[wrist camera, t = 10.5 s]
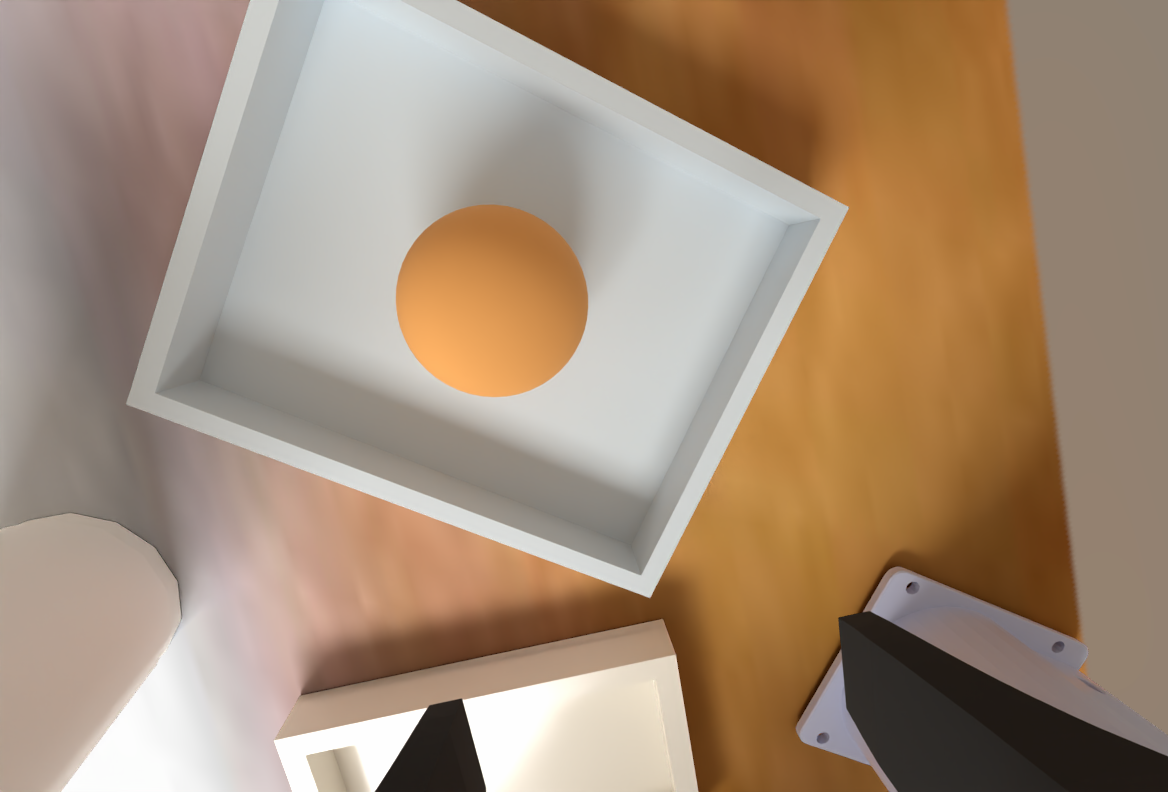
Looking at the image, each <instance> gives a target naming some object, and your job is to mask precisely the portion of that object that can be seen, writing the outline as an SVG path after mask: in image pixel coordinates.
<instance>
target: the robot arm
mask: <svg viewBox="0 0 1168 792" xmlns="http://www.w3.org/2000/svg"><path fill="white" fill-rule="evenodd" d="M911 582H912V585H911V586H910V587H909V588H906V587H907V585H908V584H909V583H911ZM838 619H839V630H840V642H841V650H840V652H839V653H838V655H837V657H836V659H835V660H834V662H833V664H832V665H831V667H830V669H829V670H828V672H827V674H826V676H825V677H824V679H823V681H822V682H821V684H820V686H819V688H818V689H817V691H816V693H815V694H814V696H813V698H812V699H811V701H810V703H809V705H808V706H807V708H806V710H805V711H804V713H803V715H802V717H801V718H800V720H799V722H798V723H797V726H796V732H797V734H798V736H799V738H800V739H801V741H802V742H804V743H805V744H808V745H811V746H814V747H817V748H820V749H823V750H826V751H829V752H832V753H835V754H838V755H841V756H844V757H847V758H850V759H852V760H855V761H858V762H861V763H864V764H867V765H870V766H872V767H873V769H874V770H875V772H876V773H877V775H878V776H879V778H880V779H881V781H882V782H883V784H884V785H885V787H886V788H887V789H888V791H889V792H1168V735H1167V734H1165V733H1164V732H1162V731H1161V730H1160V729H1158V728H1157V727H1156V726H1154V725H1153V724H1152V723H1150V722H1149V721H1147V720H1146V719H1145V718H1143V717H1142V716H1141V715H1139V714H1138V713H1136V712H1135V711H1133V710H1132V709H1131V708H1130V707H1128V706H1127V705H1125V704H1124V703H1123V702H1121V701H1120V700H1119V699H1117V698H1116V697H1114V696H1113V695H1112V694H1110V693H1109V692H1107V691H1106V690H1105V689H1103V688H1102V687H1101V686H1099V685H1098V684H1097V683H1095V682H1094V681H1092V680H1091V679H1090V678H1088V677H1087V676H1086V675H1084V674H1083V673H1081V672H1080V671H1079V669H1080V668H1081V666H1082V665H1083V663H1084V662H1085V660H1086V659H1087V656H1088V648H1087V646H1086V645H1084V644H1083V643H1081V642H1080V641H1079V640H1077V639H1075V638H1073V637H1070V636H1068V635H1065V634H1063V633H1061V632H1058V631H1056V630H1053V629H1051V628H1048V627H1046V626H1044V625H1041V624H1039V623H1036V622H1034V621H1031V620H1029V619H1027V618H1024V617H1022V616H1019V615H1017V614H1014V613H1012V612H1010V611H1007V610H1005V609H1002V608H1000V607H997V606H995V605H993V604H990V603H988V602H985V601H983V600H980V599H978V598H976V597H973V596H971V595H968V594H966V593H963V592H961V591H959V590H956V589H954V588H951V587H949V586H946V585H944V584H942V583H939V582H937V581H934V580H932V579H930V578H927V577H925V576H922V575H920V574H917V573H915V572H913V571H910V570H908V569H905V568H903V567H893V568H891V569H889V570H888V571H887V572H886V574H885V575H884V577H883V578H882V580H881V582H880V583H879V585H878V587H877V589H876V590H875V592H874V594H873V595H872V597H871V599H870V601H869V602H868V604H867V606H866V607H865V609H864V611H863V612H862V613H858V614H853V615H848V616H844V617H839V618H838ZM820 733H822V734H821V735H819V734H820ZM375 792H486V785H485V781H484V777H483V774H482V770H481V766H480V763H479V759H478V755H477V752H476V748H475V744H474V740H473V737H472V733H471V729H470V726H469V722H468V718H467V715H466V711H465V707H464V703H463V700H462V698H461V699H456V700H451V701H447V702H442V703H437V704H433V705H429V707H428V708H427V709H426V711H425V712H424V714H423V715H422V717H421V719H420V720H419V722H418V723H417V725H416V727H415V728H414V730H413V731H412V733H411V735H410V736H409V738H408V740H407V741H406V743H405V744H404V746H403V748H402V749H401V751H400V752H399V754H398V756H397V757H396V759H395V760H394V762H393V764H392V765H391V767H390V768H389V770H388V772H387V773H386V775H385V776H384V778H383V779H382V781H381V783H380V784H379V786H378V787H377V789H376V790H375Z"/></svg>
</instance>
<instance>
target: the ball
mask: <svg viewBox="0 0 1168 792" xmlns="http://www.w3.org/2000/svg"><path fill="white" fill-rule="evenodd" d="M396 310H397V317H398V321H399V325H400V328H401V331H402V334H403V336H404V339H405V341H406V343H407V344H408V346H409V348H410V350H411V351H412V353H413V354H414V356H415V357H416V359H417V360H418V361H419V362H420V363H421V364H422V365H423V367H424V368H425V369H426V370H427V371H429V372H430V373H431V374H432V375H433V376H435V377H436V378H437V379H439V380H440V381H442V382H443V383H445V384H446V385H449V386H451V387H453V388H455V389H457V390H459V391H462V392H465V393H468V394H473V395H478V396H484V397H506V396H512V395H517V394H521V393H524V392H527V391H530V390H532V389H534V388H536V387H538V386H540V385H542V384H544V383H545V382H547V381H548V380H550V379H551V378H552V377H554V376H555V375H556V374H557V373H558V372H560V370H561V369H562V368H563V367H564V366H565V365H566V364H567V363H568V361H569V360H570V359H571V357H572V356H573V354H574V353H575V351H576V349H577V347H578V345H579V343H580V341H581V339H582V336H583V333H584V330H585V326H586V322H587V315H588V292H587V285H586V280H585V277H584V274H583V270H582V268H581V266H580V263H579V261H578V259H577V257H576V255H575V254H574V252H573V250H572V249H571V247H570V246H569V245H568V243H567V242H566V241H565V240H564V238H563V237H562V236H561V235H560V234H559V233H558V232H557V231H556V230H555V229H554V228H552V227H551V226H550V225H548V224H547V223H546V222H544V221H543V220H541V219H540V218H538V217H536V216H534V215H533V214H530V213H528V212H525V211H523V210H520V209H517V208H513V207H509V206H503V205H495V204H491V205H476V206H469V207H466V208H462V209H459V210H456V211H454V212H451V213H449V214H447V215H445V216H443V217H441V218H440V219H438V220H437V221H435V222H434V223H432V224H431V225H430V226H429V227H428V228H427V229H425V230H424V231H423V232H422V233H421V235H420V236H419V237H418V238H417V239H416V240H415V242H414V243H413V245H412V246H411V248H410V249H409V251H408V252H407V255H406V257H405V259H404V261H403V263H402V266H401V269H400V272H399V275H398V281H397V286H396Z"/></svg>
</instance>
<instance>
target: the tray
mask: <svg viewBox="0 0 1168 792" xmlns="http://www.w3.org/2000/svg"><path fill="white" fill-rule="evenodd" d="M491 204H495V205H503V206H509V207H513V208H517V209H520V210H523V211H525V212H528V213H530V214H533V215H534V216H536V217H538V218H540V219H541V220H543V221H544V222H546V223H547V224H548V225H550V226H551V227H552V228H554V229H555V230H556V231H557V232H558V233H559V234H560V235H561V236H562V237H563V238H564V240H565V241H566V242H567V243H568V245H569V246H570V247H571V249H572V250H573V252H574V254H575V255H576V257H577V259H578V261H579V263H580V266H581V268H582V270H583V274H584V277H585V280H586V285H587V292H588V315H587V322H586V326H585V330H584V333H583V336H582V339H581V341H580V343H579V345H578V347H577V349H576V351H575V353H574V354H573V356H572V357H571V359H570V360H569V361H568V363H567V364H566V365H565V366H564V367H563V368H562V369H561V370H560V372H558V373H557V374H556V375H555V376H554V377H552V378H551V379H550V380H548V381H547V382H545V383H544V384H542V385H540V386H538V387H536V388H534V389H532V390H530V391H527V392H524V393H521V394H517V395H512V396H506V397H484V396H478V395H473V394H468V393H465V392H462V391H459V390H457V389H455V388H453V387H451V386H449V385H446V384H445V383H443V382H442V381H440V380H439V379H437V378H436V377H435V376H433V375H432V374H431V373H430V372H429V371H427V370H426V369H425V368H424V367H423V365H422V364H421V363H420V362H419V361H418V360H417V359H416V357H415V356H414V354H413V353H412V351H411V350H410V348H409V346H408V344H407V343H406V341H405V339H404V336H403V334H402V331H401V328H400V325H399V321H398V317H397V310H396V286H397V281H398V275H399V272H400V269H401V266H402V263H403V261H404V259H405V257H406V255H407V252H408V251H409V249H410V248H411V246H412V245H413V243H414V242H415V240H416V239H417V238H418V237H419V236H420V235H421V233H422V232H423V231H424V230H425V229H427V228H428V227H429V226H430V225H431V224H432V223H434V222H435V221H437V220H438V219H440V218H441V217H443V216H445V215H447V214H449V213H451V212H454V211H456V210H459V209H462V208H466V207H469V206H476V205H491ZM848 209H849V207H847V206H845V205H844V204H842V203H840V202H838V201H836V200H834V199H832V198H830V197H828V196H827V195H825V194H823V193H821V192H819V191H817V190H815V189H813V188H811V187H809V186H808V185H806V184H804V183H802V182H800V181H798V180H796V179H794V178H792V177H791V176H789V175H787V174H785V173H783V172H781V171H779V170H777V169H775V168H773V167H772V166H770V165H768V164H766V163H764V162H762V161H760V160H758V159H756V158H755V157H753V156H751V155H749V154H747V153H745V152H743V151H741V150H739V149H737V148H736V147H734V146H732V145H730V144H728V143H726V142H724V141H722V140H720V139H719V138H717V137H715V136H713V135H711V134H709V133H707V132H705V131H703V130H701V129H700V128H698V127H696V126H694V125H692V124H690V123H688V122H686V121H684V120H682V119H681V118H679V117H677V116H675V115H673V114H671V113H669V112H667V111H665V110H664V109H662V108H660V107H658V106H656V105H654V104H652V103H650V102H648V101H646V100H645V99H643V98H641V97H639V96H637V95H635V94H633V93H631V92H629V91H628V90H626V89H624V88H622V87H620V86H618V85H616V84H614V83H612V82H610V81H609V80H607V79H605V78H603V77H601V76H599V75H597V74H595V73H593V72H592V71H590V70H588V69H586V68H584V67H582V66H580V65H578V64H576V63H574V62H573V61H571V60H569V59H567V58H565V57H563V56H561V55H559V54H557V53H556V52H554V51H552V50H550V49H548V48H546V47H544V46H542V45H540V44H538V43H537V42H535V41H533V40H531V39H529V38H527V37H525V36H523V35H521V34H520V33H518V32H516V31H514V30H512V29H510V28H508V27H506V26H504V25H502V24H501V23H499V22H497V21H495V20H493V19H491V18H489V17H487V16H485V15H484V14H482V13H480V12H478V11H476V10H474V9H472V8H470V7H468V6H466V5H465V4H463V3H461V2H459V1H457V0H250V3H249V6H248V9H247V12H246V16H245V19H244V22H243V25H242V29H241V32H240V35H239V38H238V42H237V45H236V48H235V51H234V55H233V58H232V61H231V64H230V68H229V71H228V74H227V77H226V81H225V84H224V87H223V90H222V94H221V97H220V100H219V103H218V107H217V110H216V113H215V116H214V120H213V123H212V126H211V129H210V133H209V136H208V139H207V142H206V146H205V149H204V152H203V155H202V159H201V162H200V165H199V168H198V172H197V175H196V178H195V181H194V185H193V188H192V191H191V194H190V198H189V201H188V204H187V207H186V211H185V214H184V217H183V220H182V224H181V227H180V230H179V233H178V237H177V240H176V243H175V246H174V250H173V253H172V256H171V259H170V263H169V266H168V269H167V272H166V276H165V279H164V282H163V285H162V289H161V292H160V295H159V298H158V302H157V305H156V308H155V311H154V315H153V318H152V321H151V324H150V328H149V331H148V334H147V337H146V341H145V344H144V347H143V350H142V354H141V357H140V360H139V363H138V367H137V370H136V373H135V376H134V380H133V383H132V386H131V389H130V393H129V396H128V399H127V402H126V405H129V406H131V407H134V408H137V409H139V410H142V411H145V412H147V413H150V414H153V415H156V416H158V417H161V418H164V419H166V420H169V421H172V422H175V423H177V424H180V425H183V426H185V427H188V428H191V429H194V430H196V431H199V432H202V433H204V434H207V435H210V436H212V437H215V438H218V439H221V440H223V441H226V442H229V443H231V444H234V445H237V446H240V447H242V448H245V449H248V450H250V451H253V452H256V453H259V454H261V455H264V456H267V457H269V458H272V459H275V460H278V461H280V462H283V463H286V464H288V465H291V466H294V467H296V468H299V469H302V470H305V471H307V472H310V473H313V474H315V475H318V476H321V477H324V478H326V479H329V480H332V481H334V482H337V483H340V484H343V485H345V486H348V487H351V488H353V489H356V490H359V491H361V492H364V493H367V494H370V495H372V496H375V497H378V498H380V499H383V500H386V501H389V502H391V503H394V504H397V505H399V506H402V507H405V508H408V509H410V510H413V511H416V512H418V513H421V514H424V515H427V516H429V517H432V518H435V519H437V520H440V521H443V522H445V523H448V524H451V525H454V526H456V527H459V528H462V529H464V530H467V531H470V532H473V533H475V534H478V535H481V536H483V537H486V538H489V539H492V540H494V541H497V542H500V543H502V544H505V545H508V546H510V547H513V548H516V549H519V550H521V551H524V552H527V553H529V554H532V555H535V556H538V557H540V558H543V559H546V560H548V561H551V562H554V563H557V564H559V565H562V566H565V567H567V568H570V569H573V570H575V571H578V572H581V573H584V574H586V575H589V576H592V577H594V578H597V579H600V580H603V581H605V582H608V583H611V584H613V585H616V586H619V587H622V588H624V589H627V590H630V591H632V592H635V593H638V594H641V595H643V596H646V597H649V598H650V597H651V595H652V593H653V591H654V589H655V587H656V585H657V583H658V581H659V579H660V578H661V576H662V574H663V572H664V570H665V568H666V566H667V564H668V562H669V560H670V558H671V556H672V554H673V552H674V550H675V548H676V546H677V544H678V542H679V540H680V538H681V536H682V534H683V532H684V530H685V528H686V527H687V525H688V523H689V521H690V519H691V517H692V515H693V513H694V511H695V509H696V507H697V505H698V503H699V501H700V499H701V497H702V495H703V493H704V491H705V489H706V487H707V485H708V483H709V481H710V479H711V477H712V476H713V474H714V472H715V470H716V468H717V466H718V464H719V462H720V460H721V458H722V456H723V454H724V452H725V450H726V448H727V446H728V444H729V442H730V440H731V438H732V436H733V434H734V432H735V430H736V428H737V426H738V425H739V423H740V421H741V419H742V417H743V415H744V413H745V411H746V409H747V407H748V405H749V403H750V401H751V399H752V397H753V395H754V393H755V391H756V389H757V387H758V385H759V383H760V381H761V379H762V377H763V375H764V373H765V372H766V370H767V368H768V366H769V364H770V362H771V360H772V358H773V356H774V354H775V352H776V350H777V348H778V346H779V344H780V342H781V340H782V338H783V336H784V334H785V332H786V330H787V328H788V326H789V324H790V322H791V321H792V319H793V317H794V315H795V313H796V311H797V309H798V307H799V305H800V303H801V301H802V299H803V297H804V295H805V293H806V291H807V289H808V287H809V285H810V283H811V281H812V279H813V277H814V275H815V273H816V271H817V270H818V268H819V266H820V264H821V262H822V260H823V258H824V256H825V254H826V252H827V250H828V248H829V246H830V244H831V242H832V240H833V238H834V236H835V234H836V232H837V230H838V228H839V226H840V224H841V222H842V220H843V219H844V217H845V215H846V213H847V211H848Z"/></svg>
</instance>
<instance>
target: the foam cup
mask: <svg viewBox="0 0 1168 792" xmlns="http://www.w3.org/2000/svg"><path fill="white" fill-rule="evenodd" d="M180 621H181V609H180V600H179V590H178V582H177V580H176V579H175V577H174V576H173V574H172V573H171V571H170V570H169V568H168V567H167V565H166V564H165V562H164V561H163V559H162V558H161V556H160V555H159V553H158V552H157V550H156V549H155V547H153V546H152V545H150V544H149V543H147V542H146V541H144V540H143V539H141V538H140V537H138V536H137V535H135V534H133V533H132V532H130V531H129V530H127V529H126V528H124V527H123V526H121V525H120V524H118V523H117V522H112V521H107V520H102V519H98V518H93V517H88V516H83V515H79V514H74V513H67V514H61V515H56V516H51V517H45V518H40V519H34V520H29V521H25V522H23V523H21V524H19V525H15V526H9V527H5V528H2V529H0V792H61V791H62V789H63V788H64V787H65V786H66V784H67V783H68V782H69V780H70V779H71V778H72V776H73V775H74V774H75V772H76V771H77V770H78V768H79V767H80V766H81V764H82V763H83V762H84V760H85V759H86V758H87V756H88V755H89V754H90V752H91V751H92V750H93V748H94V747H95V746H96V744H97V743H98V742H99V740H100V739H101V738H102V737H103V735H104V734H105V733H106V731H107V730H108V729H109V727H110V726H111V725H112V723H113V722H114V721H115V719H116V718H117V717H118V715H119V714H120V713H121V711H122V710H123V709H124V707H125V706H126V705H127V703H128V702H129V701H130V699H131V698H132V697H133V695H134V694H135V693H136V691H137V690H138V689H139V688H140V686H141V685H142V684H143V682H144V681H145V680H146V678H147V677H148V676H149V674H150V673H151V672H152V670H153V669H154V668H155V666H156V665H157V663H158V661H159V658H160V657H161V656H162V655H163V654H164V653H165V652H166V651H167V649H168V647H169V645H170V642H171V640H172V638H173V636H174V634H175V632H176V629H177V627H178V625H179V623H180Z"/></svg>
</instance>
